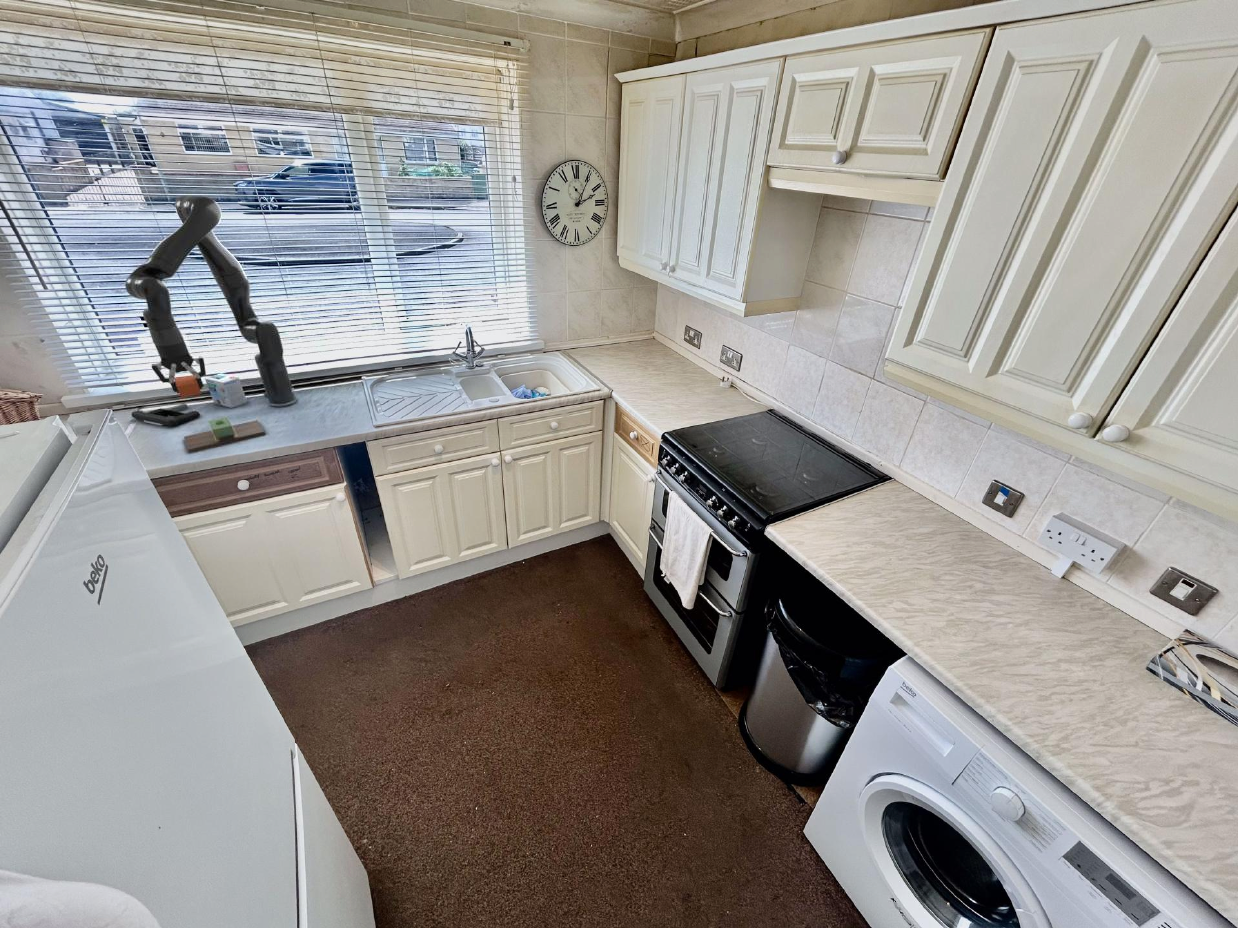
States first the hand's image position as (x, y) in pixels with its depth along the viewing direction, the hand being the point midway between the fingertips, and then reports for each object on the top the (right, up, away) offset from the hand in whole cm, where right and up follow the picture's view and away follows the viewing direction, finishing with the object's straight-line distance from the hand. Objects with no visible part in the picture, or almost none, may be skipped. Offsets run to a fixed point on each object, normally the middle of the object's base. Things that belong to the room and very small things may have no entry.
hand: (189, 390), depth 175 cm
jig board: (+6, -15, +8) cm, 18 cm away
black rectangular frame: (-24, -7, +21) cm, 33 cm away
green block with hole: (+6, -14, +8) cm, 17 cm away
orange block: (0, 0, 0) cm, 0 cm away
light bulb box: (-11, -1, +33) cm, 35 cm away
